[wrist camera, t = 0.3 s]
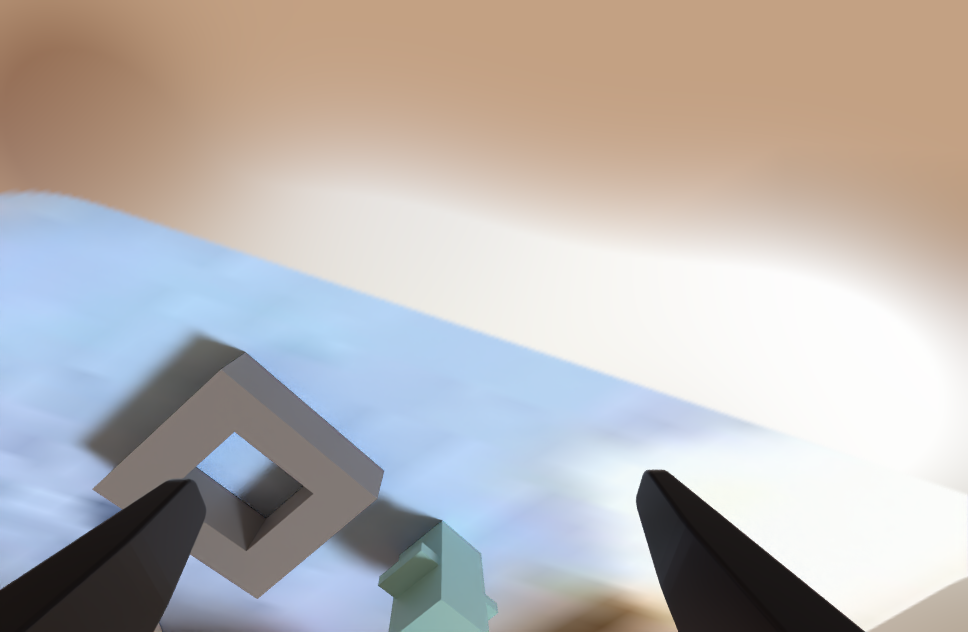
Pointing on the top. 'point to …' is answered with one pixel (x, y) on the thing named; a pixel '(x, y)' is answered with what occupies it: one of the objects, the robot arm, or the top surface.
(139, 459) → the pocket plate
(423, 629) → the block
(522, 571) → the top surface
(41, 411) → the top surface
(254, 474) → the top surface
